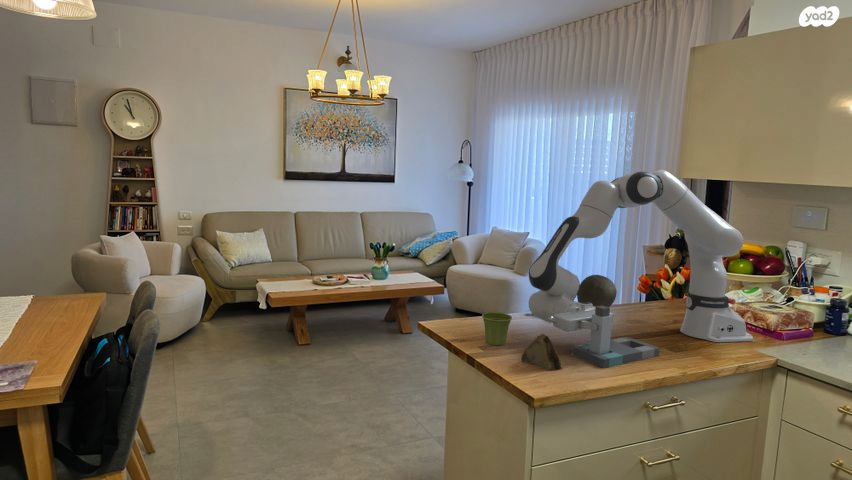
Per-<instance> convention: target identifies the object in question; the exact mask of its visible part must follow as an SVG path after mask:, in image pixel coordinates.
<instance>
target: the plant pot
mask: <svg viewBox="0 0 852 480" xmlns="http://www.w3.org/2000/svg"><path fill="white" fill-rule="evenodd" d="M481 317H482V319H483V323H484V334H485V335H484V337H485V342H486V344H488V345H491V346H498V345H500V346H504V345H505V344H506V341H507V335H508V330H509V326H510V323H511V321H512V319H513V317H512V316H511V315H510V314H507V313H503V312H500V311H499V312H494V311H491V312H485V313H482V315H481Z"/></svg>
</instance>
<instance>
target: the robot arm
mask: <svg viewBox="0 0 852 480" xmlns="http://www.w3.org/2000/svg"><path fill="white" fill-rule="evenodd" d="M650 203H653V204H654V205H655V206H656V207H657V208H658V209H659V210H660V211H661V212H662V214H663V215H665V217H667V218H668V219H669V220H670V221H671V223H673V224H674V225H675V227H677V228H679V229H680V230H681V231H683V232H684V240H685V242H686V244H687V248H688V255H689V264H690V275H689V276H690V277H689V286H688V287H689V289H688V292H687V296H686V302H685V303H686V304H685V305H686V306H685V307H686V310H685V311H686V312H685V315H684V319H683V322H682V325H681V326H680V329H679V331H680V333H682V334H683V335H686V336H689V337H692V338H697V339H700V340H701V339H702V340H706V341H710V342H713V343H726V342H727V343H729V342H730V343H731V342H732V343H733V342H735V343H736V342H752V341H754V337H753V335H752V334H751V333H749V332H747V326H746V321H745V319H744V318H742V316H740V315H739V314H738V313H737V312H736V311H735V310H733V309H732V308H731V307H730V305H732V306H734V305H735V304H736V303H737V300H736V299H735V298H733V297H728V296H727V295H726V287H727V278H728V273H727V270H726V268H725V266H724V261H723V258H729V257H734V256H735V255H737V254H738V253H739V252H740V251H741V250H742V248H743V244H744V237H743V235H742V233H741V232H740V231H739V229H736V228H735V227H734V226H732V225H731V224H730V223H729V222H727V221H726V220H725V219H723V218H722V216H720V215H719V214H717V213H716V212H715V211H713V210H712V209H711V208H709V207H708V206H707V205H705V204H704V202H702V201H701V200H700V199H699V198H698V197H697V196H696V195H695V193H693V192H692V190H691V189H690V188H688V187H687V185H685V184H684V182H682V181H681V180H680V179H679V178H678V177H676V176H675V175H673V174H672V173H670V172H669V171H667V170H664V169H658V170H655V171H653V172H652V173H650V172H649V171H648V172H647V171H637V172H632V173H627V174H625V175H622V176H621V177H620V176H619V177H617V178H615V179H613V180H612V181H608V180H598V181H595V182H594V183H593V184H592V185H591V187H590V188H589V189H588V191H587V192H586V194H585V195H584V197H583V198H582V200H581V203H580V204H579V206H578V208H577V210H576V211H575V213H574V214H572V216H569V217H567V218H565V219H564V220H563V221H562V223H561V224H560V225H559V226H558V227H557V230H556V231H555V232H554V234H553V236H552V237H551V239H550V240H549V241H548V243H547V245H546V247H544V249H543V250H542V252H541V254H540V255H539V256H538V257H537V258H536V260H534V262H533V263H532V264H531V266H530V267H529V270H528V278H529V279H528V281H529V283H530V285H531V286H532V288H534V289H537V290H539V291H535V292H533V293H532V294H531V295H530V296H529V299H528V308H529V311H530V312H531V314H532V315H533V316H534V317H536V318H537V319H540V320H542V321H545V322H547V323H550V324H551V323H552V325H553V327H554V328H557V329H559V330H561V331H564V332H573V331H579V330H590V331H591V330H594V331H595V330H599V325H598V324H596V323H591V322H592V314H595V310H596V306H593V304H592V303H586V302H578V301H575V299H576V297H577V293H578V291H579V287H580V284H581V282H580V280H579V277H578V275H576V274H575V273H573V272H571V271H570V270H569V269H566V268H564V267H563V266H561V265H560V260H561V258H562V256H563V255H564V253H565V251H566V250H567V249H568V247H569V245H570V244H571V243H572V242H573V241H574V240H576V239H579V238H580V239H594V238H598V237H600V236H602V235H603V234H604V233H605V232H606V231H607V230H608V228H609V225H610V223H611V221H612V219H613V217H614V214H615V212H616V211H617V209H618V208H619V209H626V208H628V209H629V208H637V207H639V206H644V205H648V204H650ZM609 315H610V316H612V325H613V323H614V313H613V311H610V314H609Z"/></svg>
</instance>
